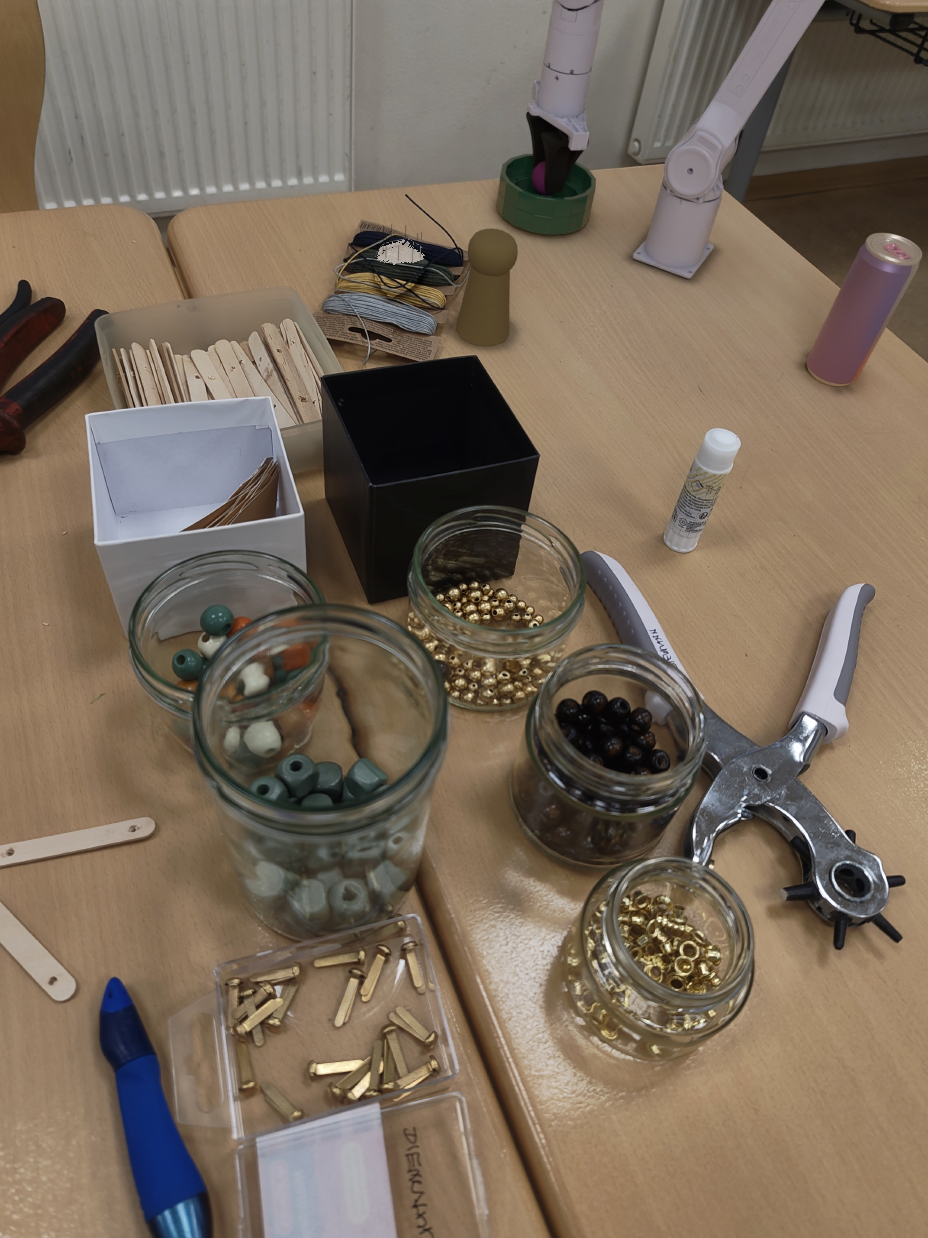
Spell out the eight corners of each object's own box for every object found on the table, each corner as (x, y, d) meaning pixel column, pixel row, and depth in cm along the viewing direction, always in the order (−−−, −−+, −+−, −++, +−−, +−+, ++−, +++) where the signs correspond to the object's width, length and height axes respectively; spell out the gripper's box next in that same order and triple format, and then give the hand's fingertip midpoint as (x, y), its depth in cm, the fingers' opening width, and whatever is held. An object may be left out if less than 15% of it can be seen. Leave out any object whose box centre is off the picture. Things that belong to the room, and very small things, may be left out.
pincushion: (416, 307, 98) (419, 260, 94) (363, 298, 98) (363, 251, 94) (433, 253, 105) (437, 207, 101) (384, 245, 106) (385, 199, 101)
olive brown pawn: (504, 350, 95) (518, 256, 86) (450, 339, 95) (459, 244, 86) (513, 320, 98) (528, 226, 90) (461, 309, 99) (471, 215, 90)
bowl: (521, 182, 119) (527, 144, 115) (602, 210, 116) (610, 172, 112) (480, 217, 112) (484, 177, 108) (564, 248, 109) (572, 209, 105)
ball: (537, 182, 114) (542, 151, 110) (564, 192, 113) (570, 161, 109) (524, 194, 111) (528, 162, 108) (551, 204, 110) (557, 172, 107)
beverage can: (828, 393, 96) (894, 267, 84) (793, 362, 99) (852, 236, 87) (867, 381, 98) (937, 257, 86) (831, 351, 101) (894, 227, 89)
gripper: (515, 39, 103) (501, 156, 114) (556, 91, 95) (536, 212, 106) (570, 39, 105) (550, 155, 116) (615, 90, 97) (589, 209, 107)
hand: (547, 182), depth 111 cm, fingers closed on ball, 4 cm apart
